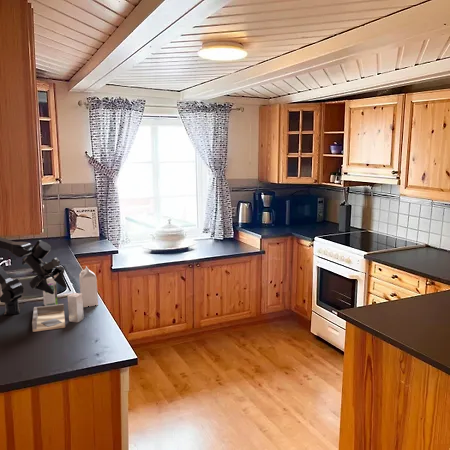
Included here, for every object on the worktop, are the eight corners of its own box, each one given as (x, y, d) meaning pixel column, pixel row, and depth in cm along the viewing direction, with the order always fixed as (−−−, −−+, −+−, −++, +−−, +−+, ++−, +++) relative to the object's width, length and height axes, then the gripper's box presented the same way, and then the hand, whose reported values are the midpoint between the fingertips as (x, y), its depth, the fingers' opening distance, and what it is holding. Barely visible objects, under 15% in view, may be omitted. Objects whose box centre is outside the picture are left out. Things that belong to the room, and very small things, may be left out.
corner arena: (34, 315, 212) (33, 307, 211) (64, 311, 216) (63, 303, 215) (32, 331, 193) (32, 322, 192) (65, 327, 198) (64, 318, 197)
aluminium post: (69, 321, 204) (67, 295, 202) (75, 317, 209) (73, 292, 206) (77, 322, 203) (76, 296, 201) (83, 318, 207) (82, 293, 205)
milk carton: (95, 301, 230) (93, 264, 227) (98, 305, 224) (96, 268, 221) (80, 303, 227) (78, 266, 224) (83, 307, 221) (80, 270, 218)
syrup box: (45, 308, 221) (43, 279, 219) (43, 304, 226) (41, 276, 224) (58, 305, 224) (55, 277, 221) (55, 302, 229) (53, 274, 226)
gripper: (32, 258, 195) (56, 285, 194) (60, 249, 213) (82, 273, 212) (19, 275, 199) (42, 301, 198) (47, 264, 217) (68, 288, 215)
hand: (59, 290), depth 206 cm, fingers open, 9 cm apart
